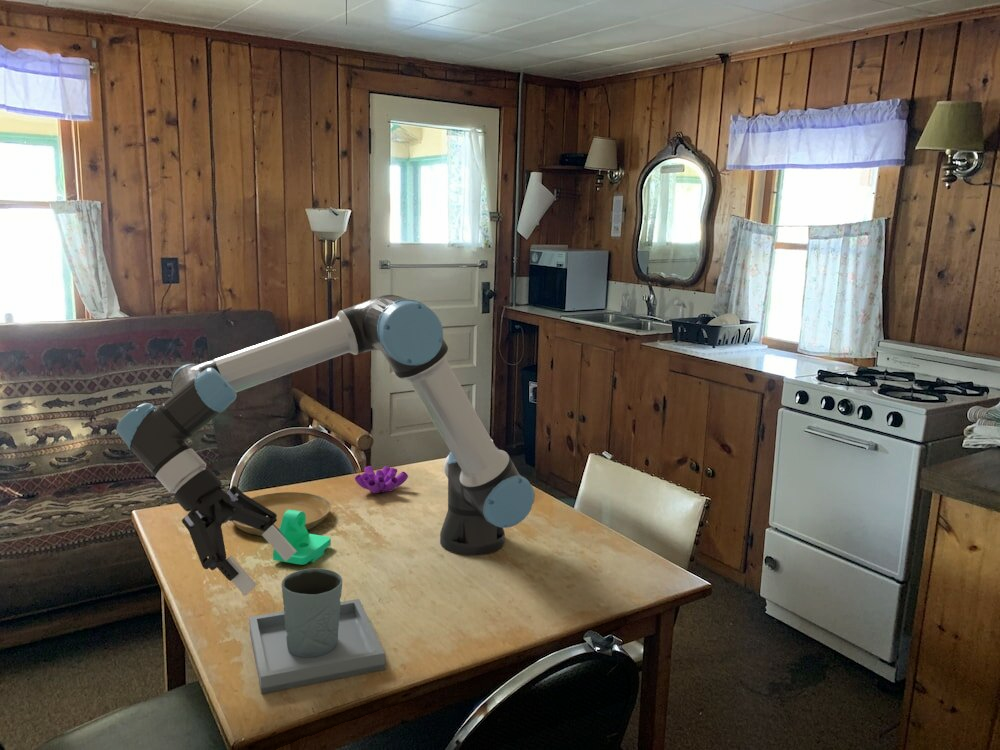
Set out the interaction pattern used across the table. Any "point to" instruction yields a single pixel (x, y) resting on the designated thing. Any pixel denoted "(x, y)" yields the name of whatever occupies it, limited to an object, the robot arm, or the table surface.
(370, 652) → the tray
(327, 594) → the grey green cup
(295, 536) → the camera mount
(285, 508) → the plant saucer
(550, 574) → the table surface
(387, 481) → the purple coral
